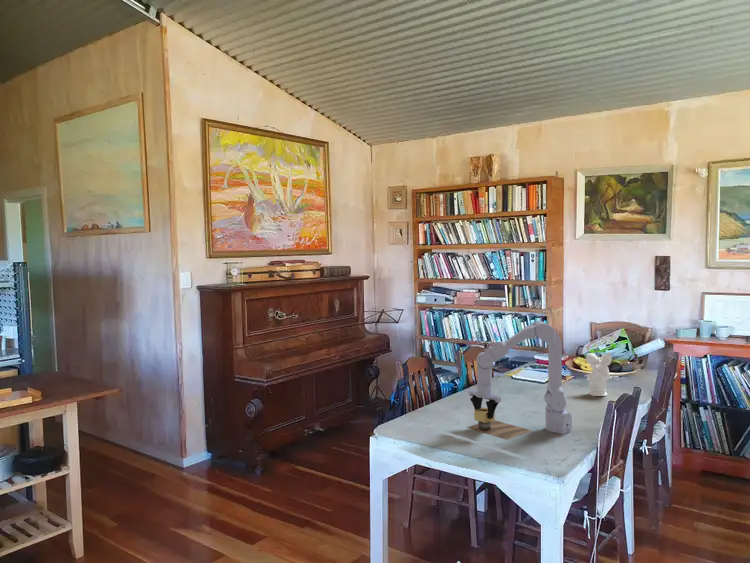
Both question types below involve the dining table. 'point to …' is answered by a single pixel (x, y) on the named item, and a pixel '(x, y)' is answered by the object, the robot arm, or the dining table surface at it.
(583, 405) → the dining table surface
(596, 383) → the cherub figurine
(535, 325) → the robot arm
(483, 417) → the brass collar
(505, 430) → the peg board
